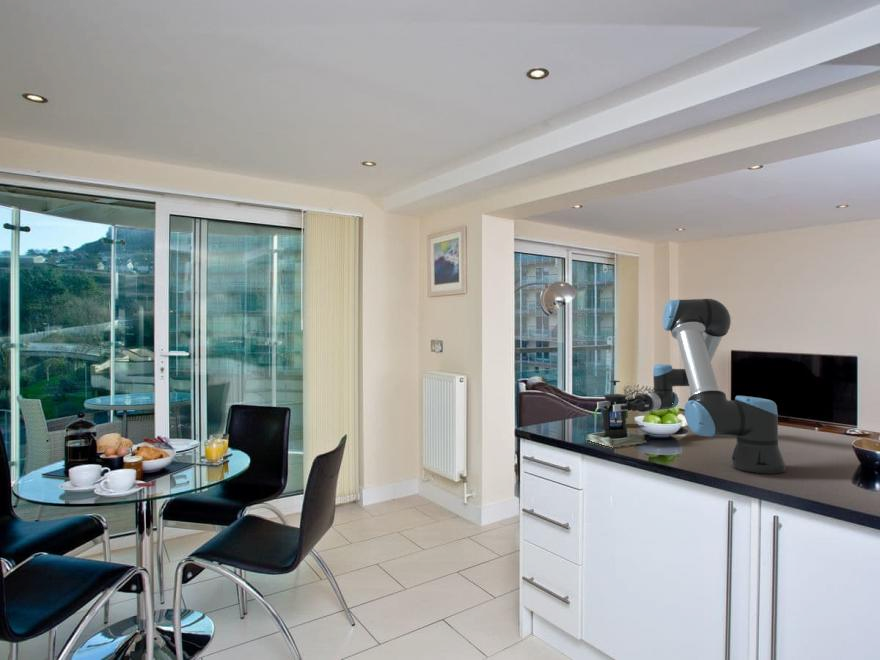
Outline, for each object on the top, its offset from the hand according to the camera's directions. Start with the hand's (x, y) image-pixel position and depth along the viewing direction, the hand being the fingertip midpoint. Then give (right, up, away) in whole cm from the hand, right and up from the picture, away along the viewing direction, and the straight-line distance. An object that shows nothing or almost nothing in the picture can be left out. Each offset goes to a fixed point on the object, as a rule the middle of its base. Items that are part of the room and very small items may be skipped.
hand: (605, 406), depth 208 cm
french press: (+5, -13, +2) cm, 14 cm away
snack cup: (+15, -15, +37) cm, 43 cm away
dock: (+5, -15, +2) cm, 16 cm away
